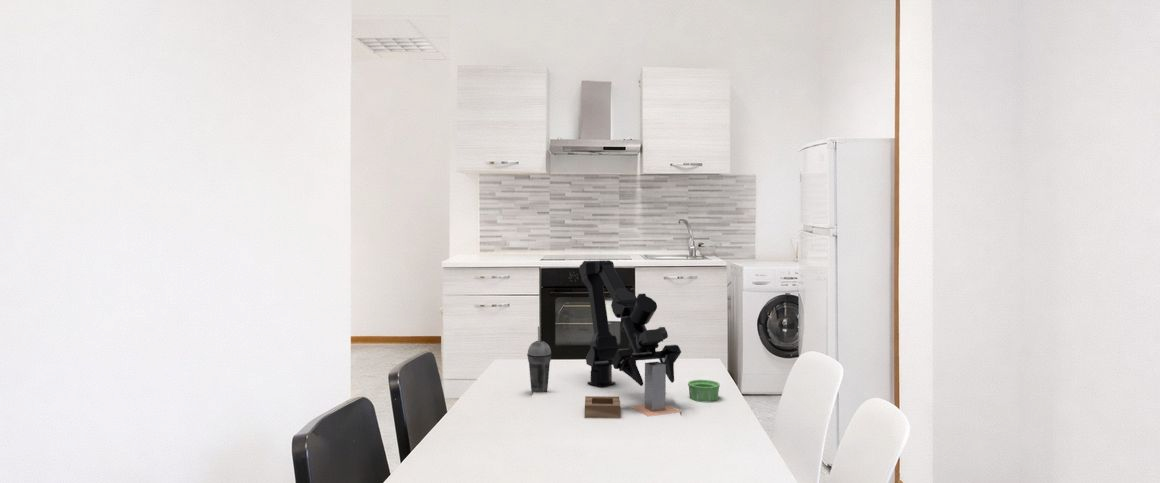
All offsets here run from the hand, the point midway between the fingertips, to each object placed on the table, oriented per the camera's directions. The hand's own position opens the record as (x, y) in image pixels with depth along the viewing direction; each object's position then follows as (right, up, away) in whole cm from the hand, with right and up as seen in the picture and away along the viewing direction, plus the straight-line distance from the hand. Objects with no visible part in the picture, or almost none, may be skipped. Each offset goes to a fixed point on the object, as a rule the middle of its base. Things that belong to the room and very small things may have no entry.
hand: (657, 383), depth 163 cm
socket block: (-15, -8, -2) cm, 17 cm away
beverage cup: (-32, -8, +21) cm, 39 cm away
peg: (-1, -7, +1) cm, 7 cm away
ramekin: (+15, -8, +16) cm, 24 cm away
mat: (-1, -8, +1) cm, 8 cm away
